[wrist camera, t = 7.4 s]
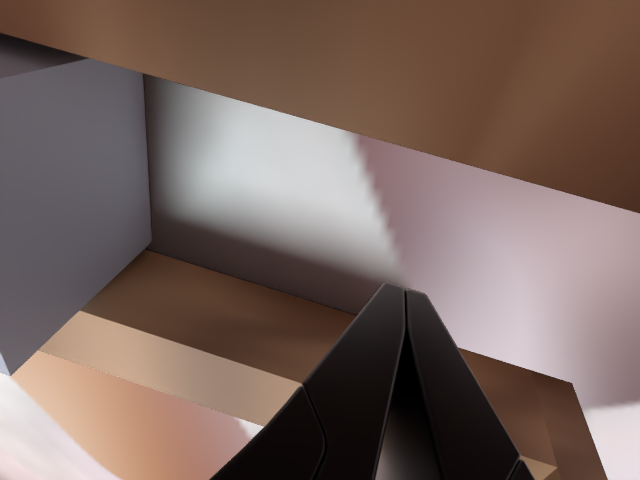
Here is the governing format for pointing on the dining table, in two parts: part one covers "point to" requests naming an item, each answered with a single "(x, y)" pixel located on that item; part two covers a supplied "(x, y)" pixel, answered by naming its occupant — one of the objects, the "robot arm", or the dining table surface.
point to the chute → (373, 121)
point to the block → (65, 187)
